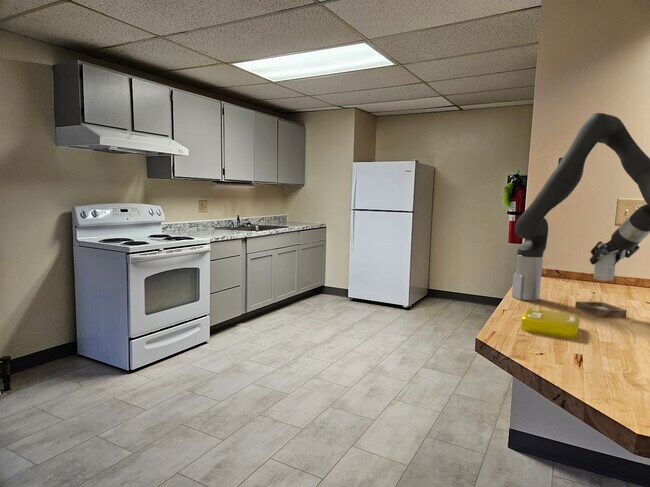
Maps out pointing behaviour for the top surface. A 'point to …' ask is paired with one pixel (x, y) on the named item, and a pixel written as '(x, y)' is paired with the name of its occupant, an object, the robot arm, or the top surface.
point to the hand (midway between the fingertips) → (601, 262)
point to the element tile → (550, 323)
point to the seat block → (601, 309)
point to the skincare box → (605, 267)
